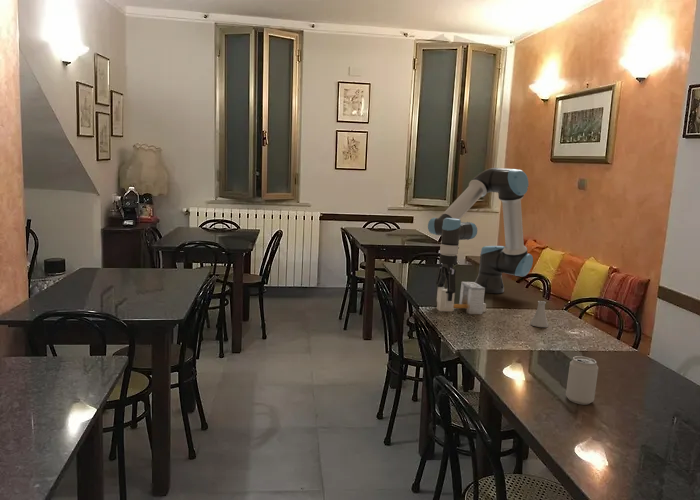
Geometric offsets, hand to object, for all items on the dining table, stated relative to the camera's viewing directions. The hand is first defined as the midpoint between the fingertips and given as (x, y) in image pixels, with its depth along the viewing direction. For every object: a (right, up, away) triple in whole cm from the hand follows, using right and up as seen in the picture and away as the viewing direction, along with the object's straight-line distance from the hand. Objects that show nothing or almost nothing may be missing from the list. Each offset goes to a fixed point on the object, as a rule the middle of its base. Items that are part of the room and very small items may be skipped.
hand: (443, 304), depth 261 cm
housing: (+12, -3, +3) cm, 13 cm away
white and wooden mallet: (+8, -3, +2) cm, 8 cm away
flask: (+37, -7, -14) cm, 40 cm away
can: (+24, -19, -92) cm, 97 cm away
